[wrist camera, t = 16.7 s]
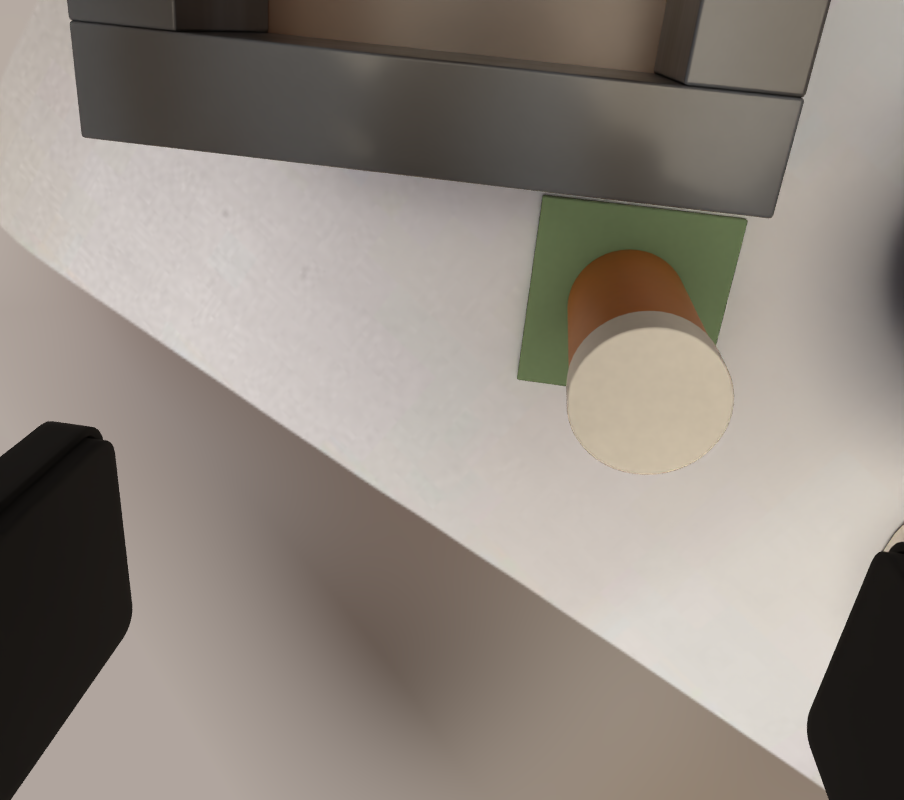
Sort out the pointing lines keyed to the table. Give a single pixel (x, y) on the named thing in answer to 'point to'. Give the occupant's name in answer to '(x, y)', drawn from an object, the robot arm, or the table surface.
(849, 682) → the robot arm
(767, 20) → the metal storage bin
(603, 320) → the medicine bottle
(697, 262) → the mat
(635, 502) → the table surface
